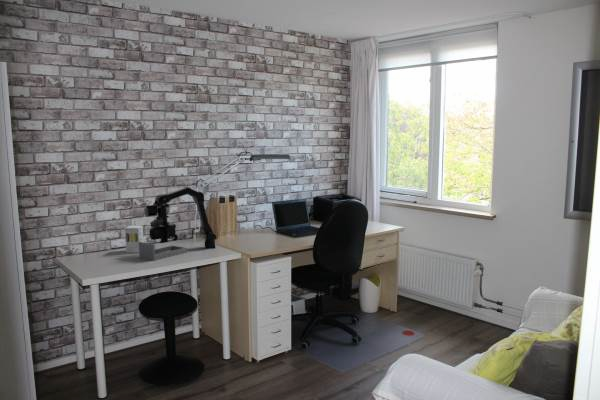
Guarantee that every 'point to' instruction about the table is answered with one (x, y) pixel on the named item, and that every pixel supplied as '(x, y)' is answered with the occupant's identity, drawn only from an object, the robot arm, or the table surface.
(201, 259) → the table surface
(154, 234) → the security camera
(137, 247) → the supplement box
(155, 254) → the case
